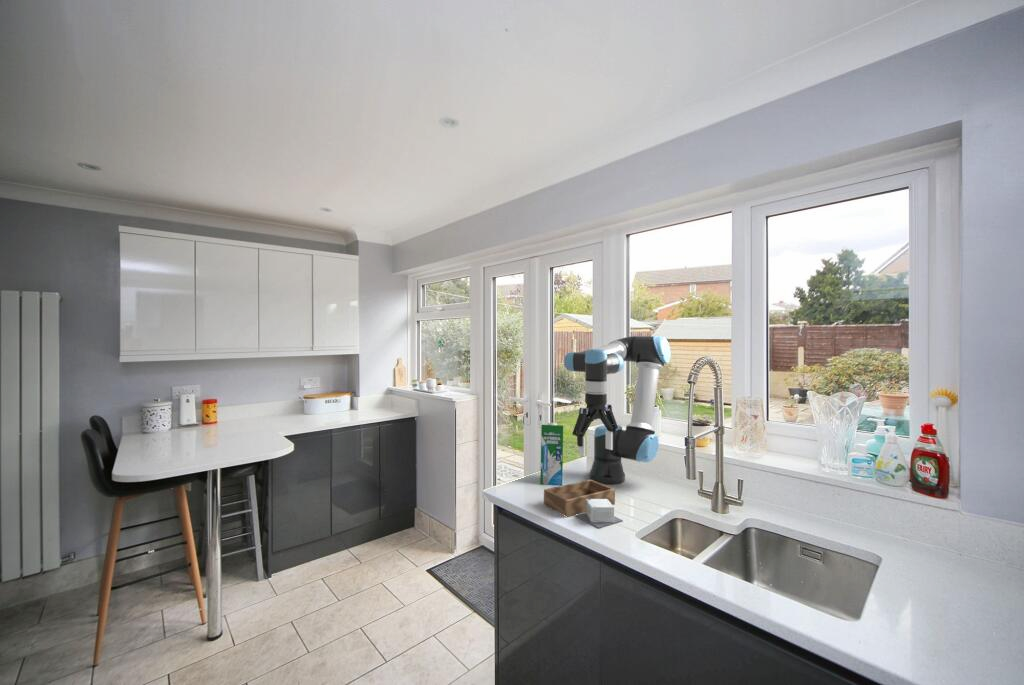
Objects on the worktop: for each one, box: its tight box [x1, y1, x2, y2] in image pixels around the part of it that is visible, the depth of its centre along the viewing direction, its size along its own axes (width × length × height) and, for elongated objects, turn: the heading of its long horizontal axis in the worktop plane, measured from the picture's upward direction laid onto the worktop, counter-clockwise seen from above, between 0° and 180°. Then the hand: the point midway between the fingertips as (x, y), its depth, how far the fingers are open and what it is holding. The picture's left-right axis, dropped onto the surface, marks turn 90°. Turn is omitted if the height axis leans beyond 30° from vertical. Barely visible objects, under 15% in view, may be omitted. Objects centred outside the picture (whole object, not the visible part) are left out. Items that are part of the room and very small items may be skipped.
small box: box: [585, 499, 615, 523], centre depth 144 cm, size 8×8×5 cm
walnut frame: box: [543, 478, 616, 518], centre depth 157 cm, size 23×13×6 cm, turn 123°
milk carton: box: [539, 422, 564, 486], centre depth 182 cm, size 9×9×25 cm
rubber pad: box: [575, 512, 623, 529], centre depth 144 cm, size 11×11×1 cm
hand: (595, 452), depth 152 cm, fingers open, 13 cm apart
